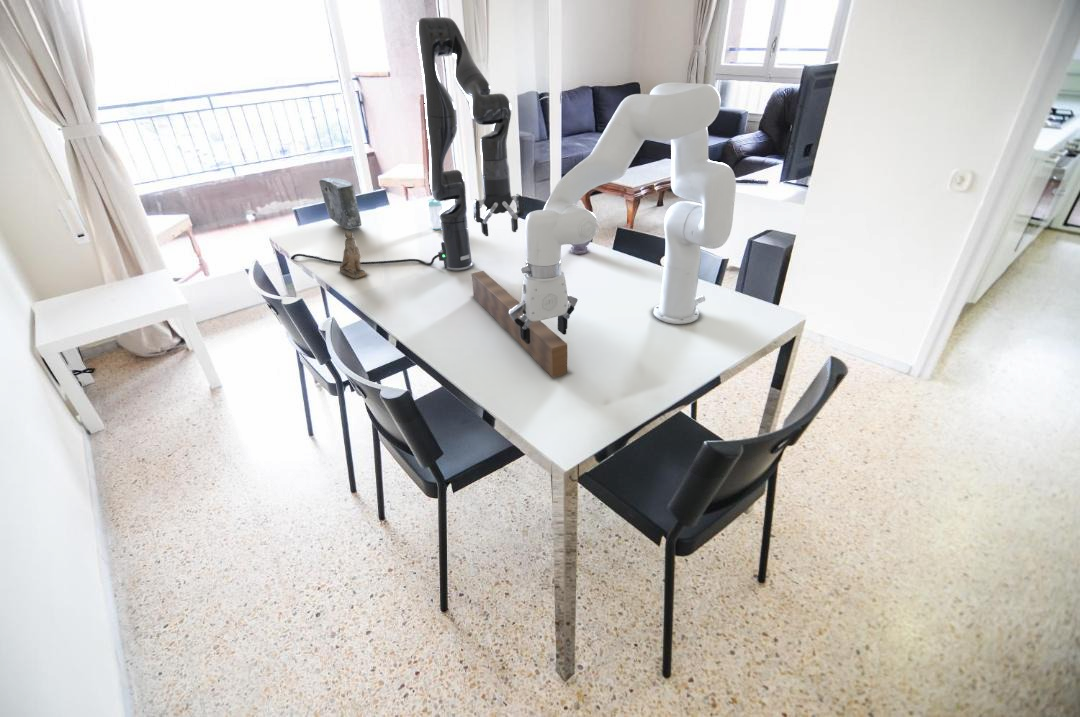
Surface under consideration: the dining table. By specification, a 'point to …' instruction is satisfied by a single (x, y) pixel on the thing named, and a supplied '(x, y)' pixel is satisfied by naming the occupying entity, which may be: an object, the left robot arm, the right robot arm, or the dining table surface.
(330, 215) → the concrete block
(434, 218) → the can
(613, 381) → the dining table surface
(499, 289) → the post
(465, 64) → the left robot arm
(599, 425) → the dining table surface
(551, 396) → the dining table surface
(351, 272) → the brown carved statuette
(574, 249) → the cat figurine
